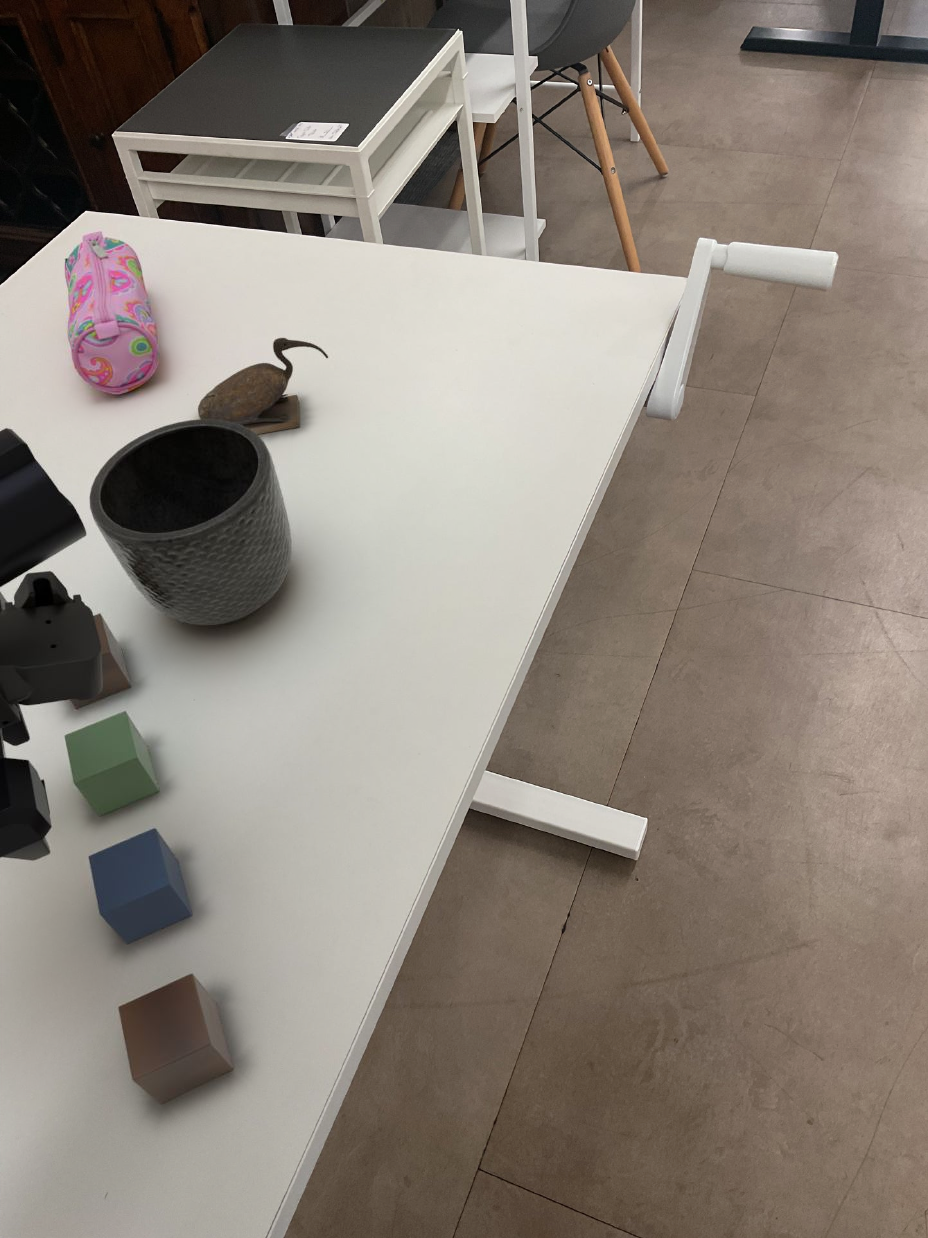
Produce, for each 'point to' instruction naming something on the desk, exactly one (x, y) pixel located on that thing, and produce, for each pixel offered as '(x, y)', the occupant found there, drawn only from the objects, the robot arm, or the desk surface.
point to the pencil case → (109, 315)
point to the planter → (196, 520)
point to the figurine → (257, 395)
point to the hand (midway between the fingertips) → (31, 795)
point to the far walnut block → (108, 665)
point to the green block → (111, 763)
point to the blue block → (139, 886)
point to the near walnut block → (174, 1039)
